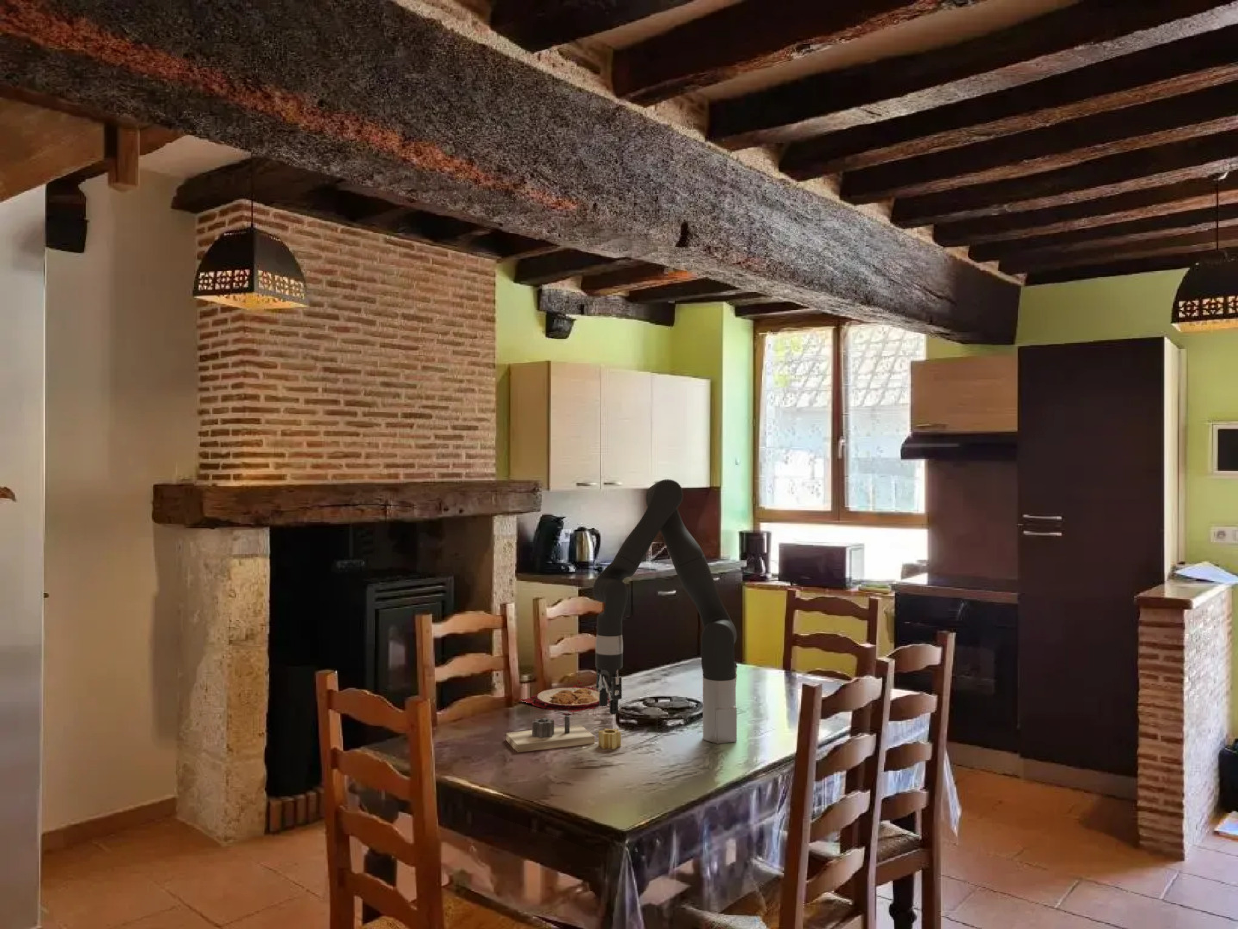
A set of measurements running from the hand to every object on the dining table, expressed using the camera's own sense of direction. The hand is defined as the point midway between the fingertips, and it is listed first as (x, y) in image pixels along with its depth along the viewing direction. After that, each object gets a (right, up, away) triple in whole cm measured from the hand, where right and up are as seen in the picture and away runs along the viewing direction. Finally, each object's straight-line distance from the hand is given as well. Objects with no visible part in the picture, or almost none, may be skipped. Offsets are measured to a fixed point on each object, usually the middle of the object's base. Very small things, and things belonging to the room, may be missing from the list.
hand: (608, 709), depth 257 cm
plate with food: (-12, -11, +48) cm, 51 cm away
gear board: (-16, -10, +4) cm, 19 cm away
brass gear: (0, -10, -1) cm, 10 cm away
